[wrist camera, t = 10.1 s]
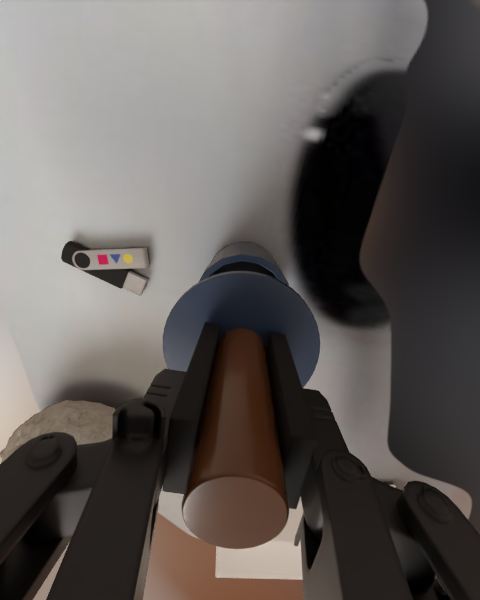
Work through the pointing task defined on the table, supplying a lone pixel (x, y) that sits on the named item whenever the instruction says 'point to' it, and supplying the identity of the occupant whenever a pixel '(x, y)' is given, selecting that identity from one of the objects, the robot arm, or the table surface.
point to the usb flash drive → (110, 264)
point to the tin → (244, 261)
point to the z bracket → (266, 555)
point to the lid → (239, 403)
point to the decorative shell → (65, 424)
